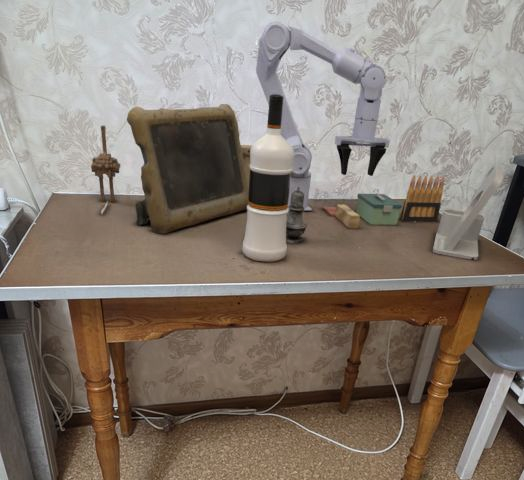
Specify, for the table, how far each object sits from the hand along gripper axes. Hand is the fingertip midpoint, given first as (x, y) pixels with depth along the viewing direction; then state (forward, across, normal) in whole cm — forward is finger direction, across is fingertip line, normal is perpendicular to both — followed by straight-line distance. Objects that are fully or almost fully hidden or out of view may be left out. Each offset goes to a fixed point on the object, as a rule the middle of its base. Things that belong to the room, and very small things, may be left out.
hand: (356, 174), depth 130 cm
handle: (+11, -29, +8) cm, 32 cm away
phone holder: (+11, +17, -27) cm, 34 cm away
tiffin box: (+10, +6, -5) cm, 13 cm away
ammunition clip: (+11, +18, -6) cm, 22 cm away
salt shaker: (+11, -23, -23) cm, 34 cm away
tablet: (+11, -44, -6) cm, 46 cm away
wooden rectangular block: (+10, -4, -5) cm, 12 cm away
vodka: (+11, -32, -33) cm, 47 cm away
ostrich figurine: (+11, -66, +3) cm, 67 cm away
